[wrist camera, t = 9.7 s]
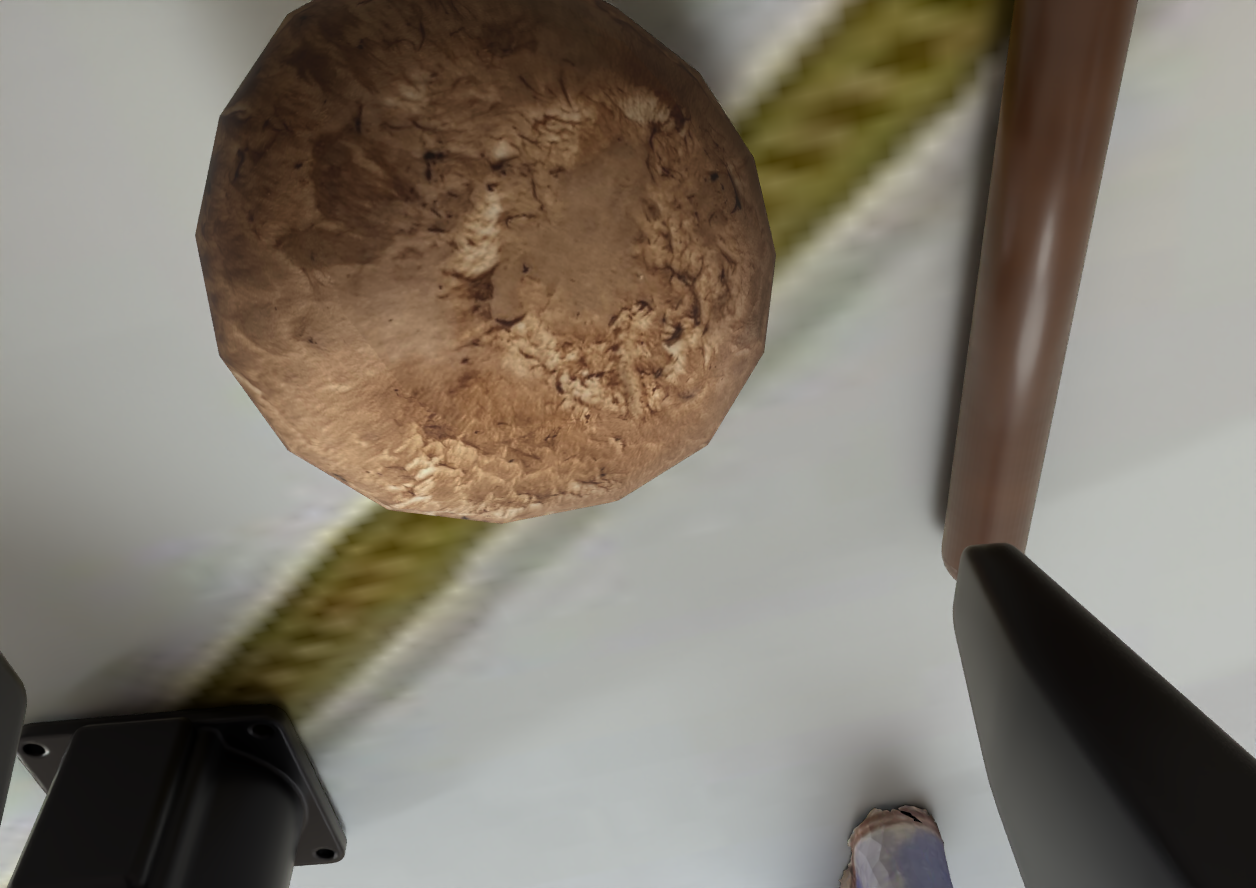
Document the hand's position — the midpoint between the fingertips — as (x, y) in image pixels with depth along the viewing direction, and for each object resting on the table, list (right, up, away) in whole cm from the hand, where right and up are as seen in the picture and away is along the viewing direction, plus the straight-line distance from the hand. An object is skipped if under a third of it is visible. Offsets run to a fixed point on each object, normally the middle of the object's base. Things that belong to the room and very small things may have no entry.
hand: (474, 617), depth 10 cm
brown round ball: (0, +6, +7) cm, 10 cm away
